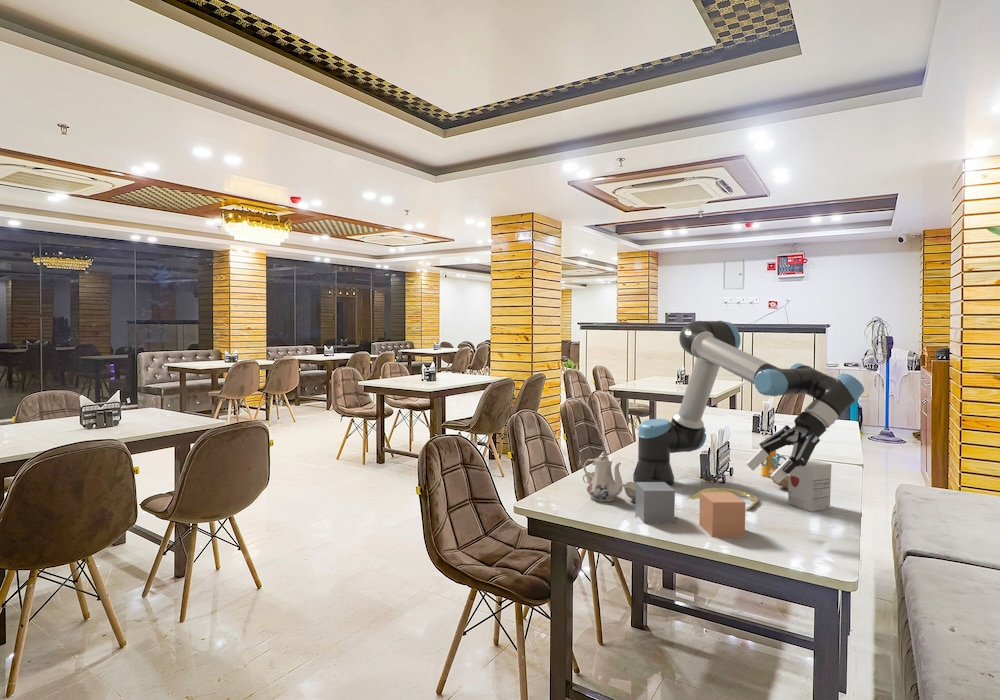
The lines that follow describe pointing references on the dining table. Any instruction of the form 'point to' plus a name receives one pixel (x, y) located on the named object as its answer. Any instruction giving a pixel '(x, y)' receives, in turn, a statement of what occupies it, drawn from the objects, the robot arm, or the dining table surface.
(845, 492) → the dining table surface
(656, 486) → the gray block
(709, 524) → the orange rectangular block
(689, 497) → the gold curved band
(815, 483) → the supplement box
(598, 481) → the chinaware
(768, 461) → the cylinder
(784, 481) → the pottery oil lamp
